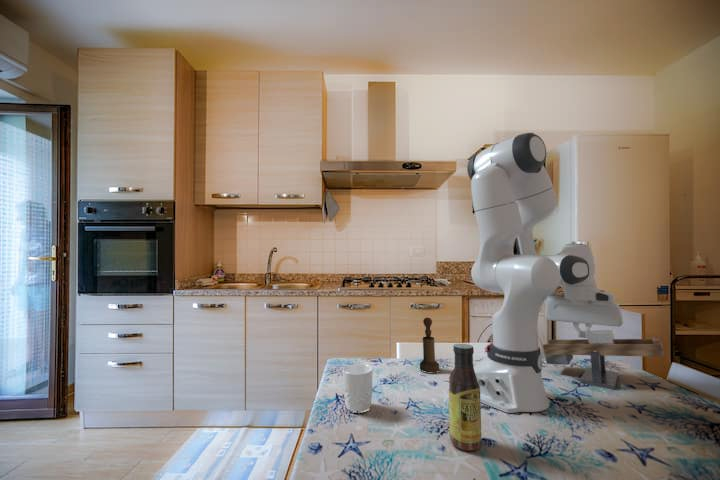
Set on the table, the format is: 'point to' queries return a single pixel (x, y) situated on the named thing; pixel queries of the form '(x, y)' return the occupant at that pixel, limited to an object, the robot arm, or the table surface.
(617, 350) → the balance beam
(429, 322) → the mortar and pestle
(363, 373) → the white cup
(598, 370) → the beam stand
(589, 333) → the steel rider
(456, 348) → the sauce bottle
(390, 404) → the table surface
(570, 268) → the robot arm
